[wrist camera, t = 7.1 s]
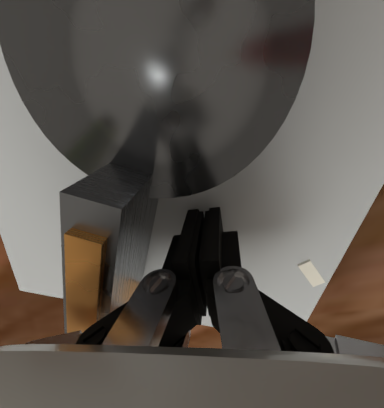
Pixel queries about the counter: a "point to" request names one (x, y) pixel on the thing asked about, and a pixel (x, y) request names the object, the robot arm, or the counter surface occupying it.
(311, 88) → the white rectangular board
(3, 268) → the counter surface
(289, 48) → the grey rounded handled piece
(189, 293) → the robot arm
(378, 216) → the counter surface
